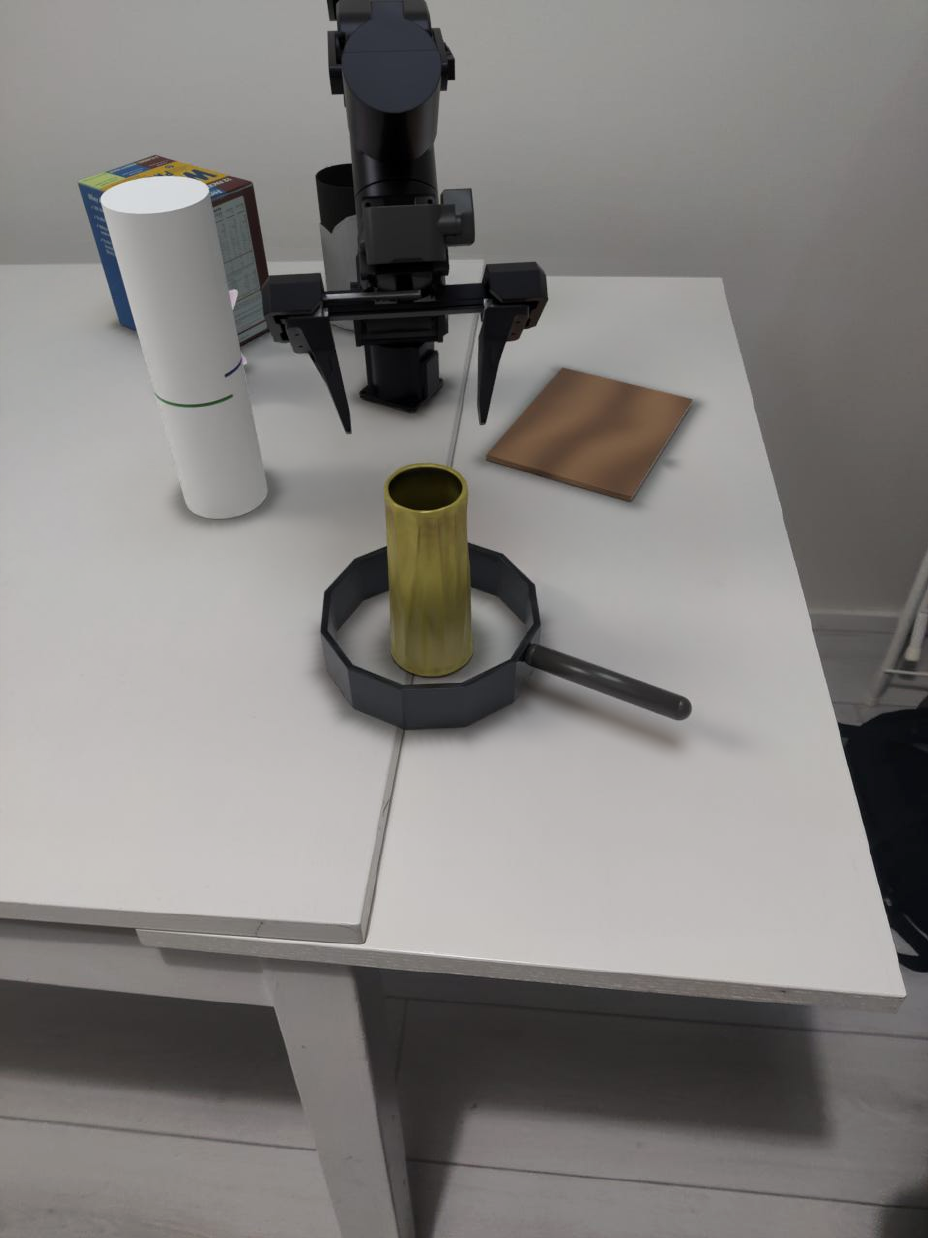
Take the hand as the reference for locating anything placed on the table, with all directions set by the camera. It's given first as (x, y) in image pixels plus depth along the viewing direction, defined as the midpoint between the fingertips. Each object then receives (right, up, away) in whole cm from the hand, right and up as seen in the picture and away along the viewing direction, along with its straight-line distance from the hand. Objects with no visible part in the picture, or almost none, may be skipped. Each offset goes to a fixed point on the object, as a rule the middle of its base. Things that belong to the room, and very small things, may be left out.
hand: (416, 428), depth 60 cm
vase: (+1, -15, +4) cm, 16 cm away
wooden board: (+16, +5, +24) cm, 29 cm away
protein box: (-27, +20, +40) cm, 52 cm away
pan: (+6, -17, +2) cm, 18 cm away
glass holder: (-9, +24, +44) cm, 51 cm away
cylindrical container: (-18, -2, +17) cm, 25 cm away
